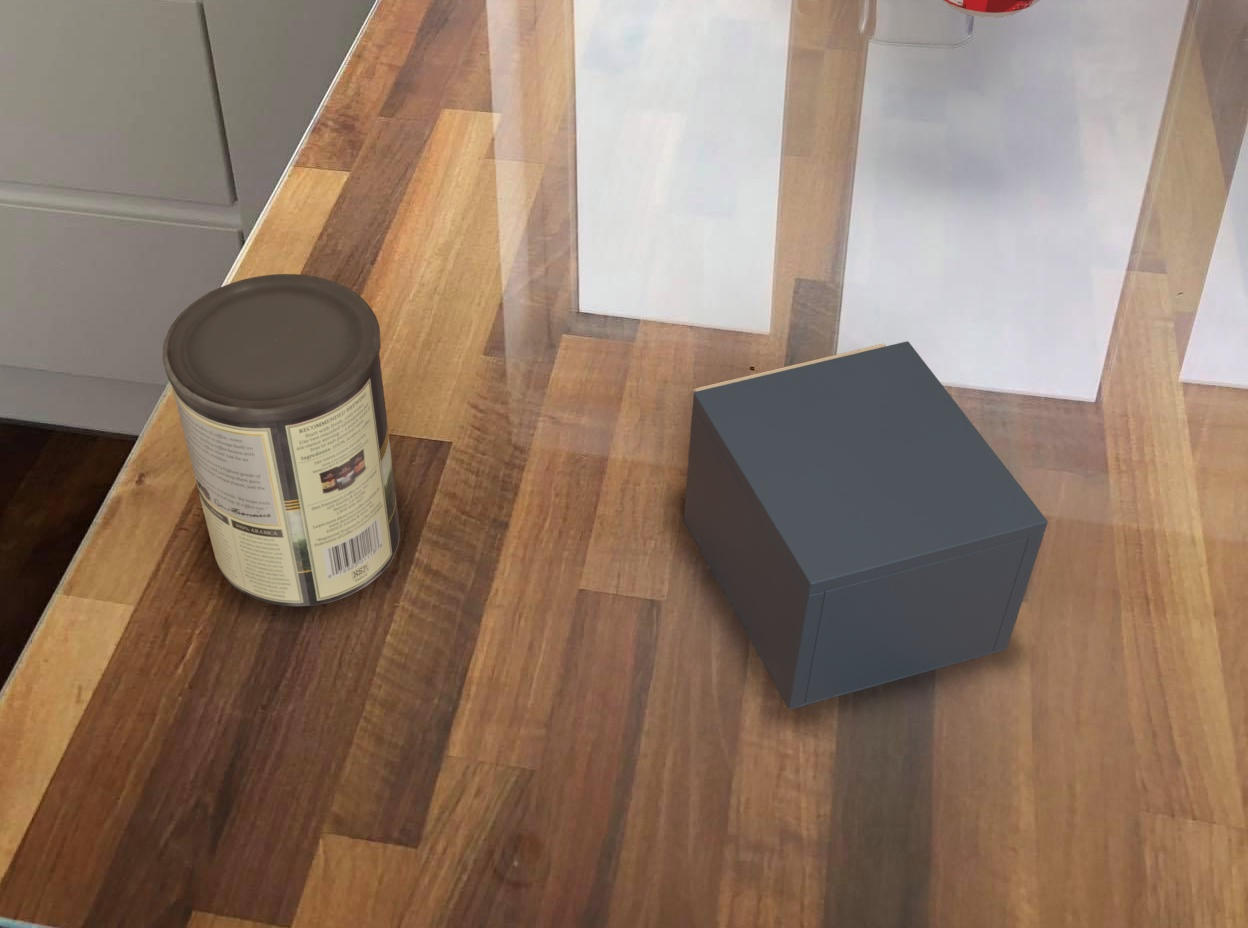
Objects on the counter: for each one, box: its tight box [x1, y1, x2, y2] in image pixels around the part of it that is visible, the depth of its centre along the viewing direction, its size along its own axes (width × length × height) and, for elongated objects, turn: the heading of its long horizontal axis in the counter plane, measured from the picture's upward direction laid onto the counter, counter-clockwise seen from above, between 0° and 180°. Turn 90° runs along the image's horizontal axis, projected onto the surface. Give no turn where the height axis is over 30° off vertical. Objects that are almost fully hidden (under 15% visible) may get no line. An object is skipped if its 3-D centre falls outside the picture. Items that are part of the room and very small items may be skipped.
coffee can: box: [162, 273, 401, 607], centre depth 80 cm, size 10×10×14 cm
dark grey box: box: [683, 340, 1048, 710], centre depth 78 cm, size 14×12×10 cm
